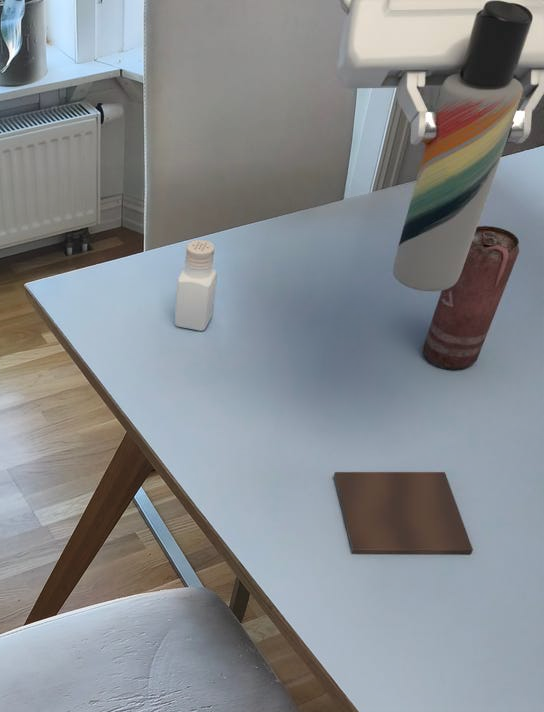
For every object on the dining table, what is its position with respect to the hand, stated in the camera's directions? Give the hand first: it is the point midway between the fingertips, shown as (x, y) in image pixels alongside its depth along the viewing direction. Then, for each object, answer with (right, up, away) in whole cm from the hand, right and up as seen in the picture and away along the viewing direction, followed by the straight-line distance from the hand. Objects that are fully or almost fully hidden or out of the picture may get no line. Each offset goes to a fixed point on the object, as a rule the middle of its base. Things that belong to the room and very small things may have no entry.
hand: (469, 141), depth 68 cm
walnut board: (+1, -26, +18) cm, 32 cm away
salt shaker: (-15, 0, +40) cm, 43 cm away
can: (+13, -6, +34) cm, 37 cm away
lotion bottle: (0, -7, +9) cm, 12 cm away
